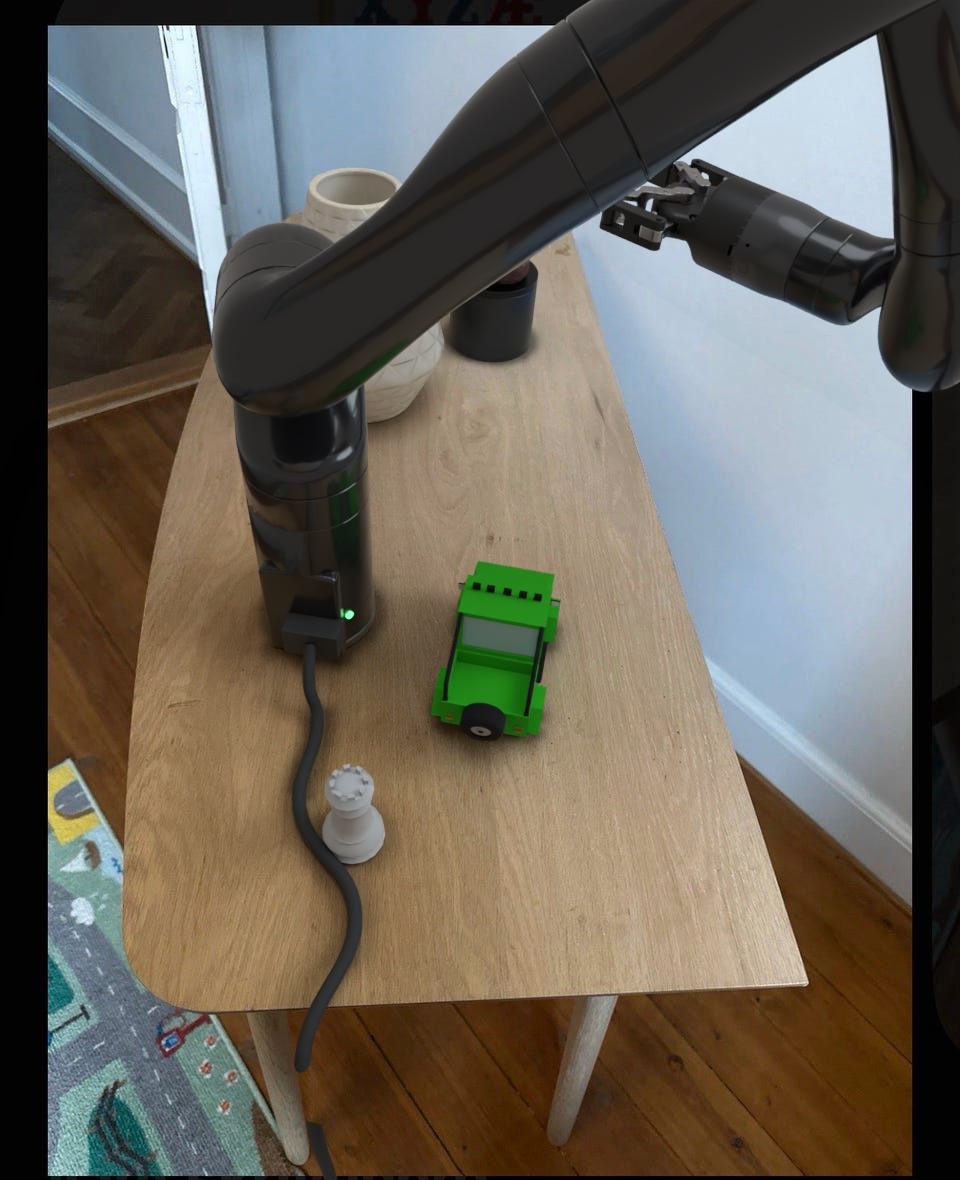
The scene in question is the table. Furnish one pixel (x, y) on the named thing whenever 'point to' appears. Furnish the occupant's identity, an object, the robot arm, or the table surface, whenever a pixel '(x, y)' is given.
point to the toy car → (498, 653)
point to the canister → (496, 320)
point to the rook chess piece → (352, 816)
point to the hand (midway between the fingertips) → (609, 173)
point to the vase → (334, 213)
